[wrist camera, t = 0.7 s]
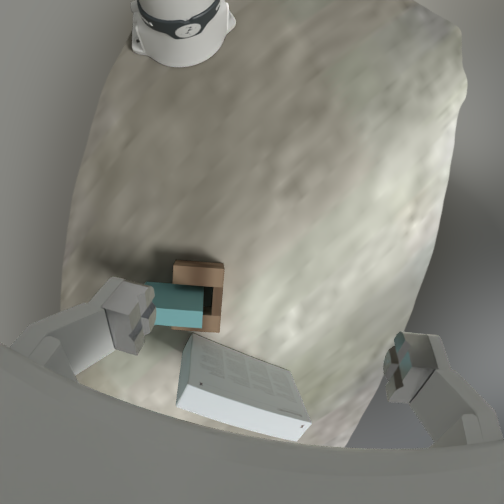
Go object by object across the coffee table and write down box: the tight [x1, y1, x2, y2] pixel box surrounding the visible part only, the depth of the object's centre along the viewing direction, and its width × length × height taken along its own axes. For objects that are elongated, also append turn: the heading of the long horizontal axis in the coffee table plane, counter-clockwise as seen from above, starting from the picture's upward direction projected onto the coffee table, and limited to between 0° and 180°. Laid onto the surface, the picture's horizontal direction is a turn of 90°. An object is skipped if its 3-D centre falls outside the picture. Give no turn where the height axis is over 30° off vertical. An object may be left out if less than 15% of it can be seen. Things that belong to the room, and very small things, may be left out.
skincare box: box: [176, 333, 312, 441], centre depth 50 cm, size 21×5×16 cm, turn 62°
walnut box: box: [171, 260, 224, 333], centre depth 52 cm, size 8×11×4 cm
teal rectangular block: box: [145, 282, 204, 328], centre depth 47 cm, size 10×2×12 cm, turn 84°
